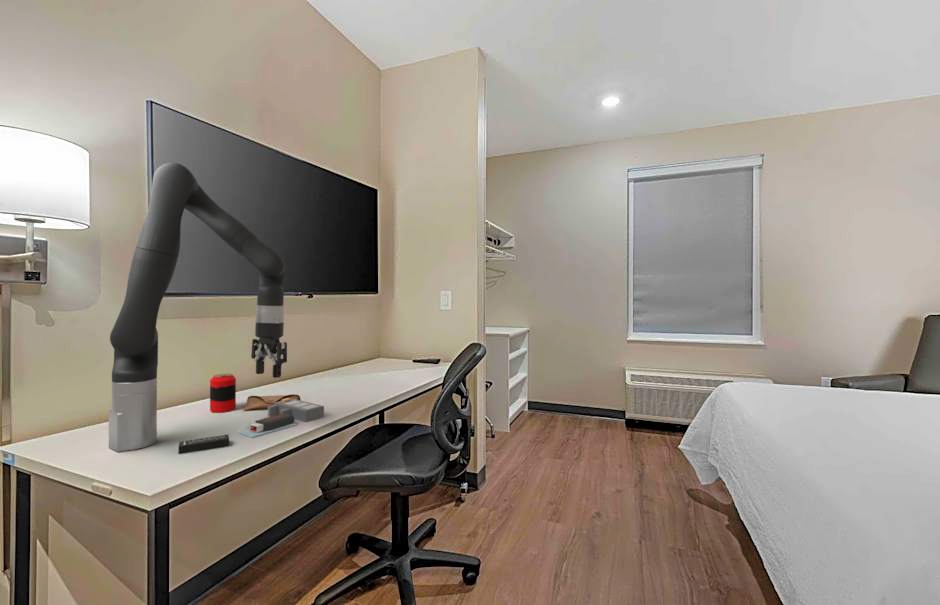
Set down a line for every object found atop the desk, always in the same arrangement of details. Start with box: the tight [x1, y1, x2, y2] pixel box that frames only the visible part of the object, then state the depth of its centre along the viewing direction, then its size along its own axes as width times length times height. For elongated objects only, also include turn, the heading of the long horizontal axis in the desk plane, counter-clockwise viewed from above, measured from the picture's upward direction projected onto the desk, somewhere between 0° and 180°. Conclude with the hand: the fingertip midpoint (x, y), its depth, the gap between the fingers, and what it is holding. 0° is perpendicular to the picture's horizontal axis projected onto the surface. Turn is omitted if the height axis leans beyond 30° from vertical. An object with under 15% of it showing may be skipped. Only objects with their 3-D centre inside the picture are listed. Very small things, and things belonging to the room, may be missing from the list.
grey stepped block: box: [267, 398, 325, 423], centre depth 137 cm, size 10×17×4 cm, turn 58°
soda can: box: [209, 373, 237, 414], centre depth 142 cm, size 8×8×12 cm
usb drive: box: [249, 413, 295, 432], centre depth 124 cm, size 5×12×3 cm, turn 153°
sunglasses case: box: [243, 393, 301, 412], centre depth 147 cm, size 18×7×7 cm, turn 105°
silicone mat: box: [238, 422, 297, 439], centre depth 123 cm, size 14×7×1 cm, turn 148°
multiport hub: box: [177, 434, 230, 455], centre depth 108 cm, size 4×11×2 cm, turn 122°
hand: (268, 375), depth 123 cm, fingers open, 8 cm apart
